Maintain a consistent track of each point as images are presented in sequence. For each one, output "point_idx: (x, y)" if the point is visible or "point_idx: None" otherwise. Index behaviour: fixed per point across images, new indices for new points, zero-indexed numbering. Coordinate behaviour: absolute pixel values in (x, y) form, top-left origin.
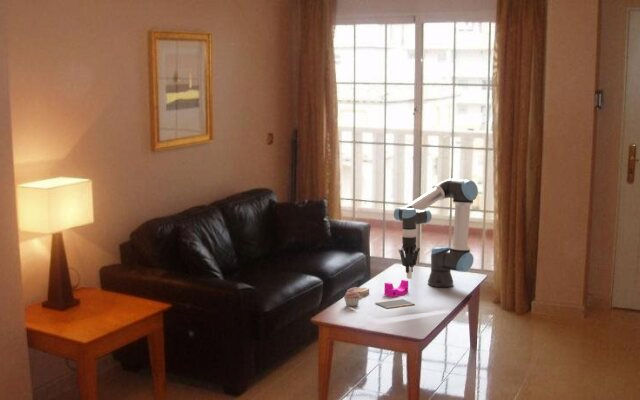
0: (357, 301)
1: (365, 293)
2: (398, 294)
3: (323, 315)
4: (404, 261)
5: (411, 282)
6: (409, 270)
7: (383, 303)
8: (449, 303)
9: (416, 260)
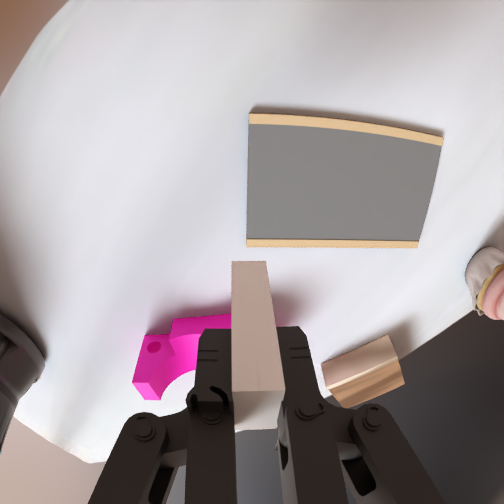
0: (494, 256)
1: (353, 362)
2: (215, 321)
3: None
4: (417, 482)
5: (89, 404)
6: (276, 344)
7: (399, 218)
8: (41, 72)
9: (100, 489)
